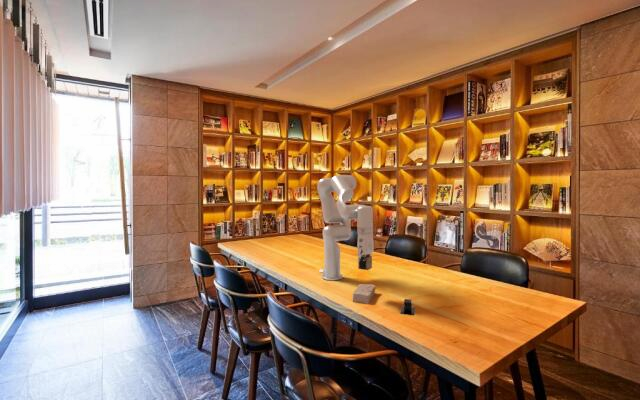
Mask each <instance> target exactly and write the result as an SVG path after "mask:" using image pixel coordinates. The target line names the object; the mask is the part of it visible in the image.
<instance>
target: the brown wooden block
mask: <svg viewBox="0 0 640 400" xmlns="http://www.w3.org/2000/svg"><path fill="white" fill-rule="evenodd" d="M357 257H358V256H357ZM363 257H364V256H363ZM357 259H358V260H357V261H358V264H357V265H358V269H357V270H361V269H360V268H359V257H358V258H357ZM365 261H366V269H362V270H363V271H369V270H371V269H372V268H373V256H372V255H371V256H367V255H366V257H365Z"/></svg>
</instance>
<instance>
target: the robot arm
mask: <svg viewBox="0 0 640 400" xmlns="http://www.w3.org/2000/svg"><path fill="white" fill-rule="evenodd" d="M316 186H317V188H316V189H317V192H318V193H317V194H318V196H319V198H320V202H321V203H320V204H321V210H322V211H321V212H322V217H323V221H324V222H325V223H326V224H330V225H326V226H325V227H323V229H322V239H323V250H324V251H323V252H324V255H323V256H324V259H323V260H324V261H323V262H324V269H323V268H320V269H319V273H320V274H322V275H321V278H322V279H323V280H325V281H340V280H342V279H343V278H344V275H343V274H341V247H340V246H339V244H338V243H337V242H342V241H348V240H350V238H351V236H352V228H351V226H352V225H351V220H357V222H356V223H357V224H356V225H357V231H356V233H357V245H356V248H357V250H356V251H357V257H359V268H360V269H359V270H363V269H366V261H365V257H366V255H367V256H372V253H374V252H375V250H374V249H375V248H374V247H375V245H374V235H373V234H374V232H373V231H374V230H373V226H374V225H373V224H374V223H373V222H374V221H373V219H374V217H373V213H374V211H373V206H371V205H365V204H346V203H347V202H349V201H350V200H351V199H353V197H354V194H355V193H354V189H356V187H357V180H356V177H354V176H353V175H352V174H351V175H350V174H337V175H334V176H333V177H325V178H324V177H323V178H321V179H319V180H318V182H317V185H316ZM332 193H335V194H336V195H337V200H336V199H335V197H334V196H333V195H332ZM337 223H338V224H337ZM333 224H334V225H333ZM363 256H364V257H363Z"/></svg>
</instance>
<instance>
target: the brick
mask: <svg viewBox="0 0 640 400" xmlns="http://www.w3.org/2000/svg"><path fill="white" fill-rule="evenodd" d="M375 293H376V285H374V284H370V283H369V284H368V283H367V284H366V283H363V284H362V283H359V284H358V286H357V288H356V289H355V290H354V291H353V293H352V302H353V303H361V304H369V303H371V300H372V299H373V296H374V295H375Z"/></svg>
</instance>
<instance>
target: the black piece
mask: <svg viewBox="0 0 640 400" xmlns="http://www.w3.org/2000/svg"><path fill="white" fill-rule="evenodd" d="M412 303H413V301H412V299H410V298H409V299H408V298H405V299H404V301H403V305H401V308H400V315H404V316H405V315H407V316H414V315H415V316H416V306H413V304H412Z"/></svg>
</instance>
